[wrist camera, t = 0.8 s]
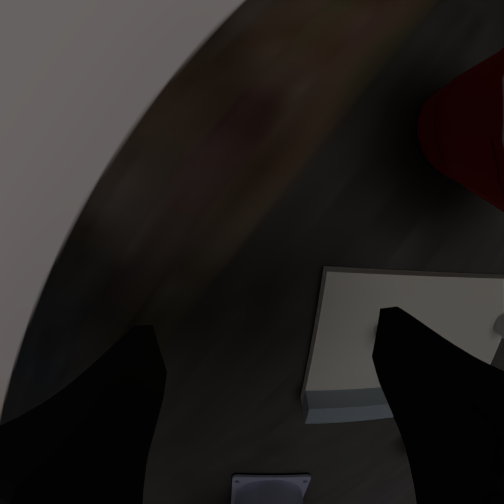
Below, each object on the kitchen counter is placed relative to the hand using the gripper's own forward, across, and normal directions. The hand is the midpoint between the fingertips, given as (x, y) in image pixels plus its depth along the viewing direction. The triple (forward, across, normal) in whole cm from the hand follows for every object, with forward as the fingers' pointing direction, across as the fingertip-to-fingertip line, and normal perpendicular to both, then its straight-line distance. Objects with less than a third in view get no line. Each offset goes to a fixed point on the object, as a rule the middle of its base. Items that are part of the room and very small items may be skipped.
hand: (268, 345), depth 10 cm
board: (+10, -12, +9) cm, 18 cm away
